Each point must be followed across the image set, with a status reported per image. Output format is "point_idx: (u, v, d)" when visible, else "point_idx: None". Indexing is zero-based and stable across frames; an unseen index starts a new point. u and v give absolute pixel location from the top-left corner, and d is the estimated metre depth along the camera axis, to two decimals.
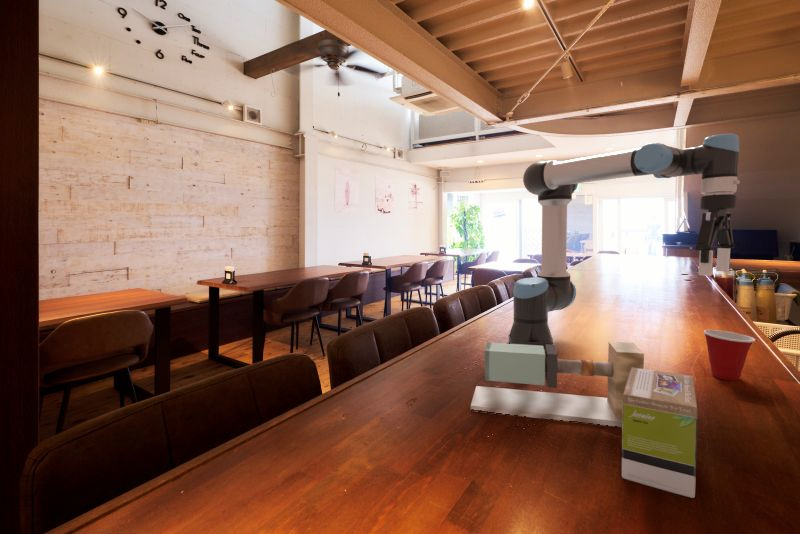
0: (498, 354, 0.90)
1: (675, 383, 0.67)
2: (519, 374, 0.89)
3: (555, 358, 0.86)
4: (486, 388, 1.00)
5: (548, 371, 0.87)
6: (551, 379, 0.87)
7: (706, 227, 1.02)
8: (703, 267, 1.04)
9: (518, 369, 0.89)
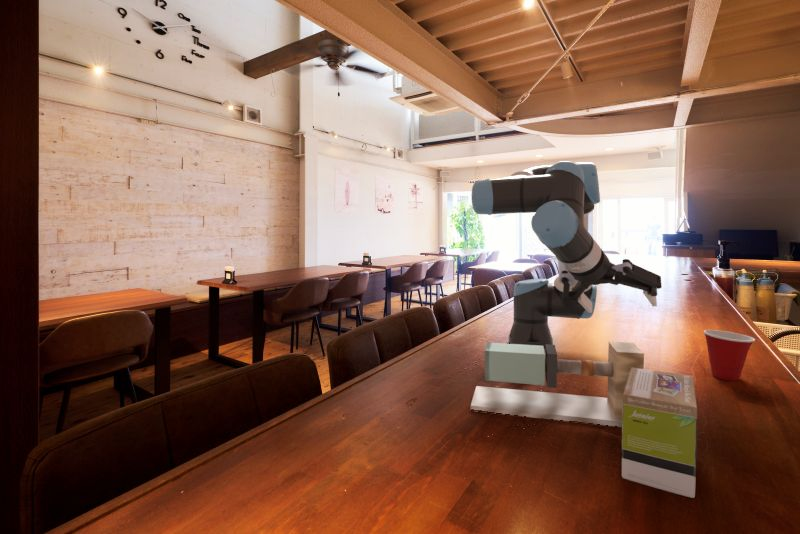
0: (498, 354, 0.90)
1: (675, 383, 0.67)
2: (519, 374, 0.89)
3: (555, 358, 0.86)
4: (486, 388, 1.00)
5: (548, 371, 0.87)
6: (551, 379, 0.87)
7: None
8: None
9: (518, 369, 0.89)
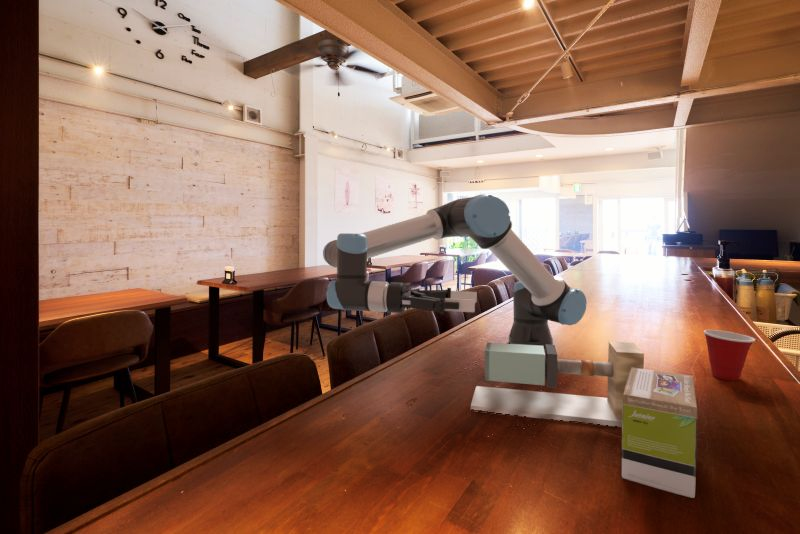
0: (498, 354, 0.90)
1: (675, 383, 0.67)
2: (519, 374, 0.89)
3: (555, 358, 0.86)
4: (486, 388, 1.00)
5: (548, 371, 0.87)
6: (551, 379, 0.87)
7: None
8: None
9: (518, 369, 0.89)
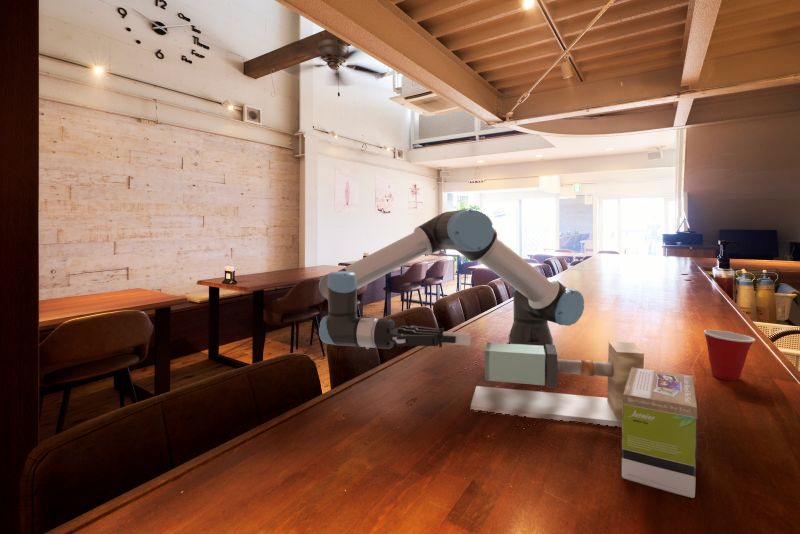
0: (498, 354, 0.90)
1: (675, 383, 0.67)
2: (519, 374, 0.89)
3: (555, 358, 0.86)
4: (486, 388, 1.00)
5: (548, 371, 0.87)
6: (551, 379, 0.87)
7: None
8: None
9: (518, 369, 0.89)
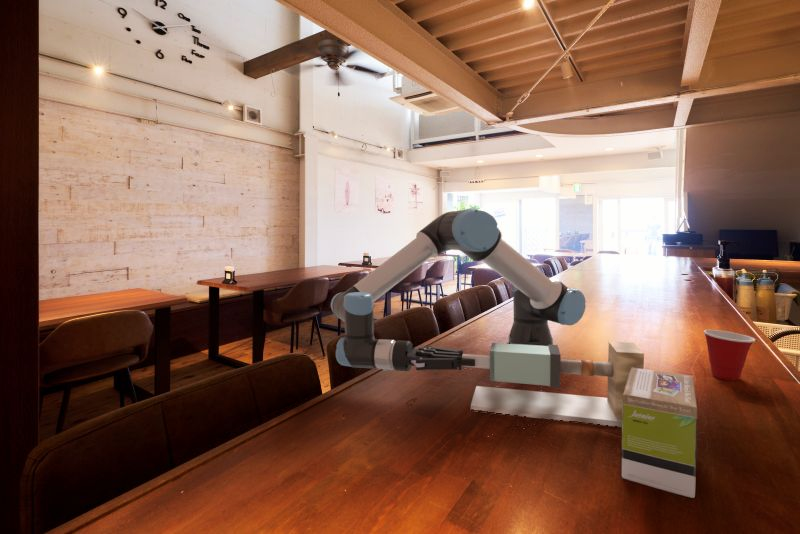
0: (503, 354, 0.90)
1: (675, 383, 0.67)
2: (524, 374, 0.89)
3: (558, 358, 0.86)
4: (486, 388, 1.00)
5: (551, 371, 0.87)
6: (554, 379, 0.87)
7: None
8: None
9: (523, 369, 0.89)
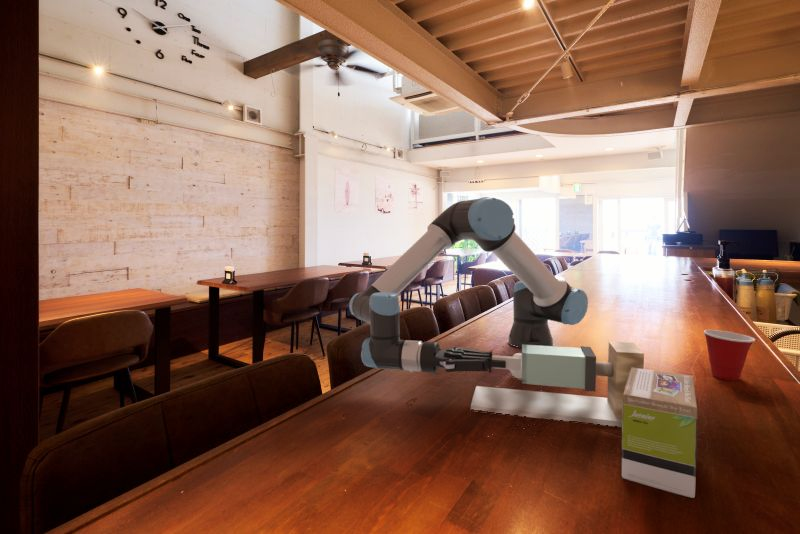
0: (536, 357, 0.88)
1: (675, 383, 0.67)
2: (558, 377, 0.87)
3: (594, 361, 0.84)
4: (486, 388, 1.00)
5: (586, 374, 0.85)
6: (589, 382, 0.85)
7: None
8: None
9: (557, 372, 0.87)
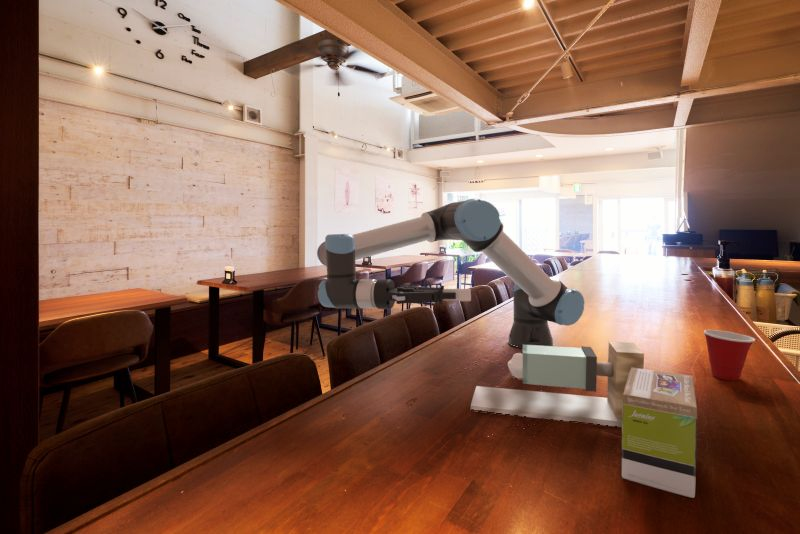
0: (537, 357, 0.88)
1: (675, 383, 0.67)
2: (559, 377, 0.87)
3: (594, 361, 0.84)
4: (486, 388, 1.00)
5: (587, 374, 0.85)
6: (590, 382, 0.85)
7: None
8: None
9: (558, 372, 0.87)
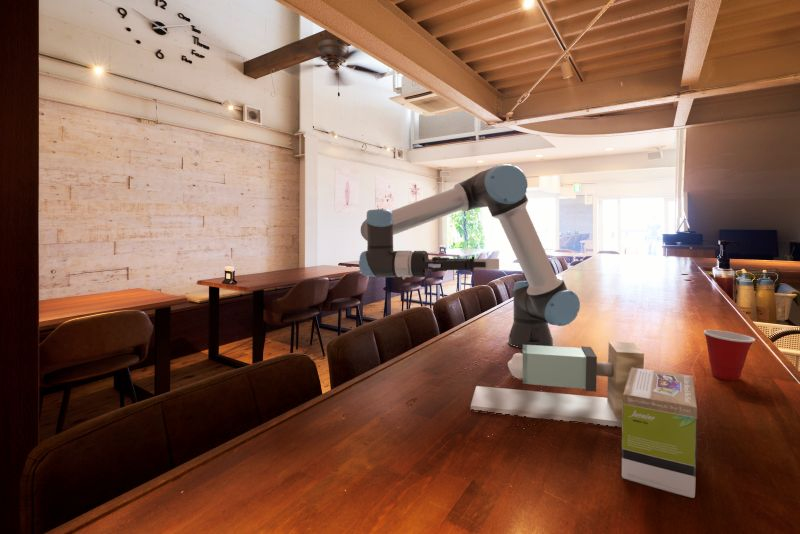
0: (537, 357, 0.88)
1: (675, 383, 0.67)
2: (559, 377, 0.87)
3: (594, 361, 0.84)
4: (486, 388, 1.00)
5: (587, 374, 0.85)
6: (590, 382, 0.85)
7: None
8: None
9: (558, 372, 0.87)
